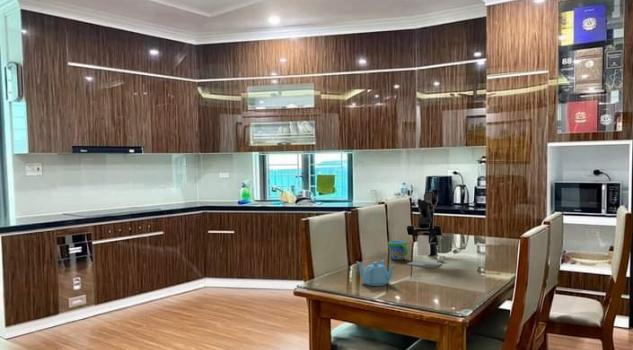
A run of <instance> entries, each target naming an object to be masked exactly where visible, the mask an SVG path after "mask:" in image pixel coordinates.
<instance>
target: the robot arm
mask: <svg viewBox="0 0 633 350" xmlns="http://www.w3.org/2000/svg"><path fill="white" fill-rule="evenodd" d="M438 203H439V196H438V194H436V193H435V192H434V191H431V190H430V191H425V192H424V194H423V199H422V200H421V201H420V202H419V203H418V205H417V208H418V211H419V214H420V217H419V216H418V227H415V225H407V226H406V233H407V235H408V236H412V237H414V238H415V240H416V242H417V237H418V236H419V232H420V233H423V235H428V236H430V237H429V243H430V255H429V256H432V257H433V256H435V255H436V256H438V250H437V246H439V237H440V236H442V235H443V230H442V226H440V225H434V224H435V223H434V222H435V221H434V219H435V218H434V217H435V216H434V215H435V208H436V207H437V205H438ZM438 236H439V237H438Z"/></svg>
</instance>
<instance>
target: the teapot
mask: <svg viewBox="0 0 633 350" xmlns="http://www.w3.org/2000/svg"><path fill="white" fill-rule="evenodd" d="M355 262H356V263H357V264H358V267H359V268H358V269H359V275H360V277H362V278H361V281H362V282H363V283H364V284H365V285H366V286H369V287H383V286H386V285H388V284H389V282H390V280H392V277H393V267H394V266H395V264H391V265H390V266H388V267H389V268H388V270H387V268H386V266H385V258H384V259H381V260H380V263H379V262H378V261H373V262H372V264H368V265H367V266H366V267H365V269H364V268H363V264H362V262H359V261H355Z"/></svg>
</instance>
